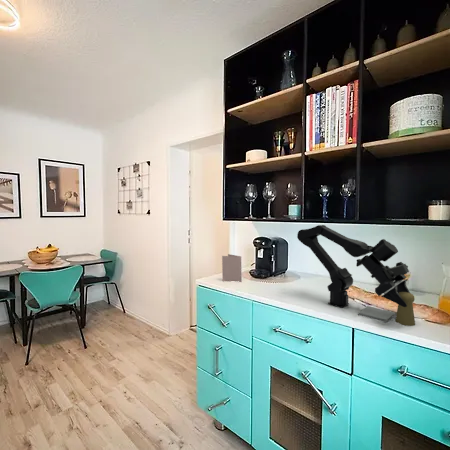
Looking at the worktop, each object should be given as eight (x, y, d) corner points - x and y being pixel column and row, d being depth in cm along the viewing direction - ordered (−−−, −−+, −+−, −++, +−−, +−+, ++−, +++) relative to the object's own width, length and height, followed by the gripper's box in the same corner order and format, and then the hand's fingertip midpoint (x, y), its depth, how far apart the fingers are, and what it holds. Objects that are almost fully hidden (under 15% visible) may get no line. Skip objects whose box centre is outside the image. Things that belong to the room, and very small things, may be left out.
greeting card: (242, 281, 155) (242, 256, 154) (233, 284, 150) (232, 257, 149) (229, 278, 163) (229, 253, 163) (220, 280, 159) (219, 255, 158)
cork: (407, 318, 100) (407, 290, 100) (419, 325, 94) (420, 295, 94) (391, 319, 100) (392, 290, 100) (402, 326, 94) (403, 295, 93)
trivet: (358, 314, 104) (358, 312, 104) (367, 308, 111) (367, 305, 111) (386, 322, 97) (386, 319, 97) (395, 314, 104) (395, 312, 104)
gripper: (385, 259, 93) (423, 297, 85) (400, 252, 105) (434, 285, 98) (361, 277, 99) (394, 314, 91) (378, 269, 111) (409, 301, 104)
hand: (409, 303), depth 96 cm, fingers open, 9 cm apart
